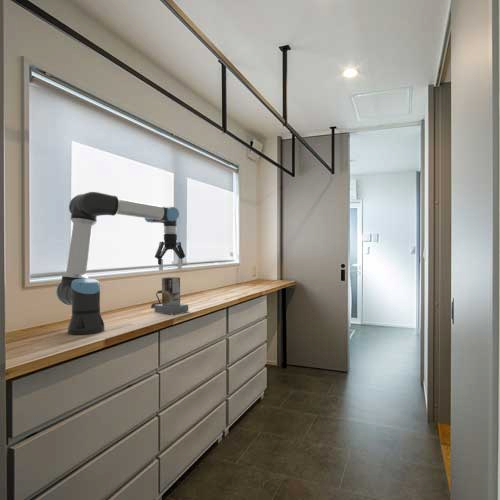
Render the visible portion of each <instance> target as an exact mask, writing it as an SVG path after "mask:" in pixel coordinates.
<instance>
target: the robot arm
mask: <svg viewBox="0 0 500 500" xmlns="http://www.w3.org/2000/svg"><path fill="white" fill-rule="evenodd" d="M68 204H69V205H68V211H69V213H70V221H71V222H72V223H73V224H72V230H71V237H70V245H69V252H68V258H67V265H66V270H65V271H66V272H65V273H64V274H62V276H61V280H60V281H61V282H60V283H59V284H58V285H57V287H56V293H55V294H56V297H57V299H58V300H59V302H61V303H63V304H65V305H67V306H71V317H70V320H69V323H68V327H67V333H68V334H69V335H74V336H75V335H76V336H77V335H81V336H82V335H91V334H96V333H101V332H103V331H104V330H105V323H104V320H103V317H102V314H101V285H100V281H99V280H97V279H94V278H89V277H88V275H87V269H88V261H89V253H90V247H91V240H92V239H91V238H92V232H93V226H95V225H96V224H97V221H98V217H99V216H101V217H102V216H113V217H114V216H116V215H122V216H127V217H128V216H129V217H136V218H143V219H144V220H145V222H147V223H151V224H152V223H156V224H163V241H159V243H158V248H157V250H156V253H155V255H154V258H156V259H157V265H158V271H163V270H164V259H163V258H164V256H165V254H166V252H167V251H168V250H173V252H174V253H175V254H176V256H177V257H178V258H177V270H182V269H183V267H182V266H183V259H184V258H185V257H186V255H185V252H184V250H183V247H182V242H181V241H177V240H178V235H177V233H178V232H177V231H178V229H177V228H178V225H177V224H178V223H177V221H178V219H179V217H180V212H179V209H178V208H177V207H175V206H163V205H156V204H152V203H145V202H139V201H134V200H129V199H123V198H119V197H118V196H116V195H113V194H108V193H103V192H99V191H98V192H97V191H88V192H85V193H80V194H77V195H75V196H74V197H72V199H70V201H69V203H68Z"/></svg>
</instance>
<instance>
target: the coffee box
mask: <svg viewBox="0 0 500 500" xmlns="http://www.w3.org/2000/svg"><path fill="white" fill-rule="evenodd" d="M161 290H162V293H161V297H162V298H161V300H162V301H161V302H162V305H168V306H176V305H180V304H181V277H178V276H174V277H172V276H167V277H161Z"/></svg>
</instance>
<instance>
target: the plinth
mask: <svg viewBox="0 0 500 500" xmlns="http://www.w3.org/2000/svg"><path fill="white" fill-rule="evenodd" d="M186 311H188V312H189V304H185V303H180V305H176V306H168V305H162V304H158V305H155V308H154V313H161V314H164V315H165V314H167V315H171V314H172V315H177V314H176V313H178V314H182V313H181V312H184V313H187V312H186Z"/></svg>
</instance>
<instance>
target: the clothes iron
mask: <svg viewBox="0 0 500 500" xmlns="http://www.w3.org/2000/svg"><path fill="white" fill-rule="evenodd" d="M158 294H162V289H160V290H158V291H156V294H155V296H156V298H157V300H158V302H153V303H152V304H151V306H150V308H154V309H155V305H158V304H162V301H161V300H160V298H159V296H158Z"/></svg>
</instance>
